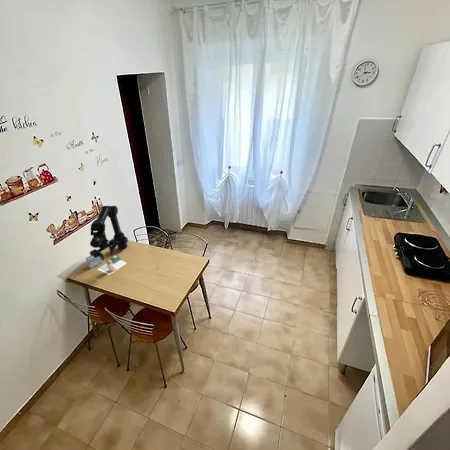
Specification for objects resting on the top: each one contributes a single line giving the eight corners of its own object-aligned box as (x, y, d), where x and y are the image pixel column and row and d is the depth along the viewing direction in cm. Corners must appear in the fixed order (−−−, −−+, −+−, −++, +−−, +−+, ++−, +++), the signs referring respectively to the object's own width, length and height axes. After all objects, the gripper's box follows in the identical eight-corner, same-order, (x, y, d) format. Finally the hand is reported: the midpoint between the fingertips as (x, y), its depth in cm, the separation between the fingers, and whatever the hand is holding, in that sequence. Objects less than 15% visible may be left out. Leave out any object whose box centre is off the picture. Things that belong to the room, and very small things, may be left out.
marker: (112, 268, 184) (109, 259, 180) (115, 269, 183) (112, 260, 179) (107, 270, 182) (105, 262, 178) (111, 272, 180) (108, 263, 176)
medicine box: (92, 269, 185) (88, 260, 180) (88, 267, 187) (85, 257, 183) (102, 264, 190) (99, 254, 186) (98, 261, 192) (95, 252, 188)
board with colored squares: (116, 257, 197) (115, 254, 196) (129, 263, 190) (128, 260, 189) (95, 270, 184) (94, 267, 182) (108, 277, 177) (108, 274, 176)
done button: (115, 257, 194) (114, 255, 193) (117, 258, 192) (117, 256, 191) (111, 259, 191) (111, 257, 190) (114, 260, 190) (113, 258, 189)
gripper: (106, 229, 179) (111, 247, 187) (81, 242, 166) (88, 261, 174) (116, 233, 174) (121, 252, 182) (92, 247, 161) (98, 266, 168)
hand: (107, 257), depth 177 cm, fingers open, 7 cm apart
